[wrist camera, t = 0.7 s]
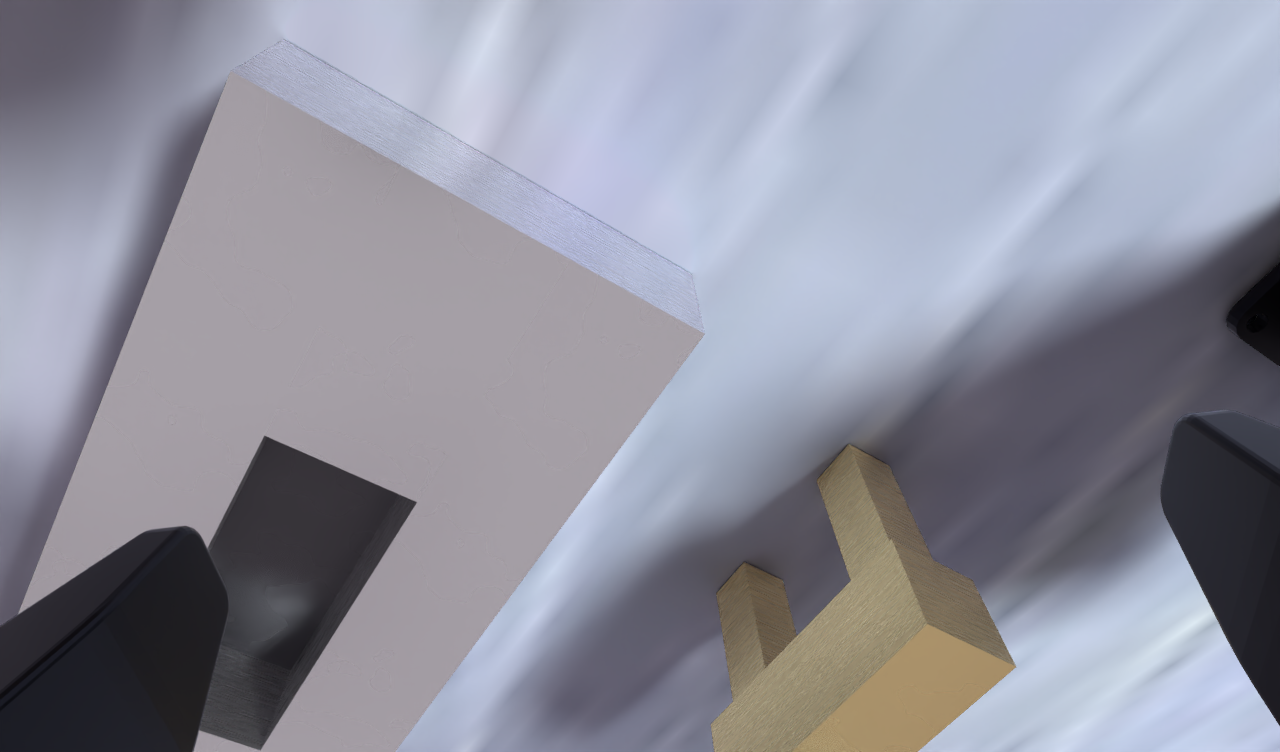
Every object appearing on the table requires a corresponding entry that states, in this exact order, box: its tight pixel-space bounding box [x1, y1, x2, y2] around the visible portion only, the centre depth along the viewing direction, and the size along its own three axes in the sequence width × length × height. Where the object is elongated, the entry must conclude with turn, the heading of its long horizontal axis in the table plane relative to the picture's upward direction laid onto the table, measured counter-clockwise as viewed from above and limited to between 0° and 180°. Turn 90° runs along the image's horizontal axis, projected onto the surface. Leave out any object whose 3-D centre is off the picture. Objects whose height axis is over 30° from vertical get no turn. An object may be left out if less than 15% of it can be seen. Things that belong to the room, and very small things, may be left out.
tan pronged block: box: [711, 444, 1016, 752], centre depth 22 cm, size 2×7×7 cm, turn 148°
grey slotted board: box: [18, 39, 705, 752], centre depth 23 cm, size 10×24×3 cm, turn 148°
